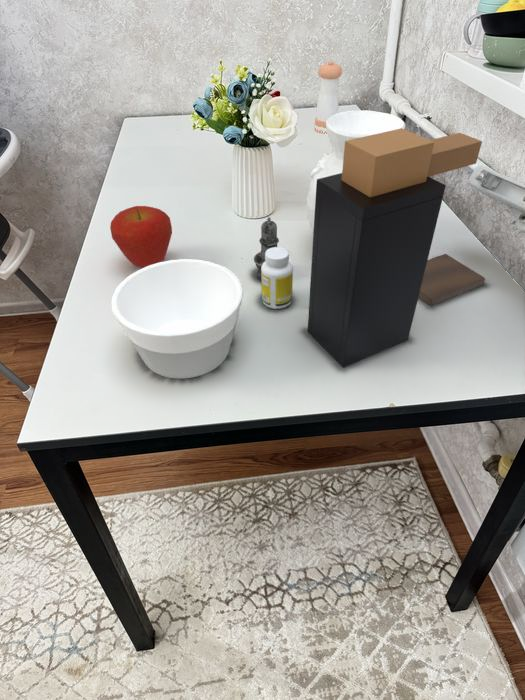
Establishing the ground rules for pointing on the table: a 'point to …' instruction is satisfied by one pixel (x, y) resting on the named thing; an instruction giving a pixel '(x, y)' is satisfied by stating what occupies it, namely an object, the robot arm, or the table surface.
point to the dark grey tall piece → (266, 243)
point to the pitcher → (338, 132)
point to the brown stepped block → (403, 159)
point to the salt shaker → (327, 93)
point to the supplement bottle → (277, 278)
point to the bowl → (179, 315)
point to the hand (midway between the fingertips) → (503, 184)
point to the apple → (142, 234)
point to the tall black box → (368, 265)
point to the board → (447, 279)
